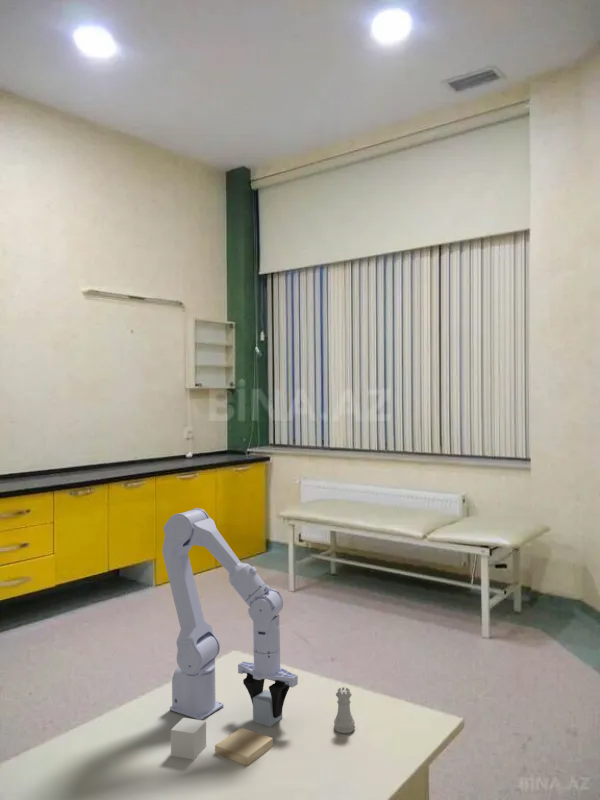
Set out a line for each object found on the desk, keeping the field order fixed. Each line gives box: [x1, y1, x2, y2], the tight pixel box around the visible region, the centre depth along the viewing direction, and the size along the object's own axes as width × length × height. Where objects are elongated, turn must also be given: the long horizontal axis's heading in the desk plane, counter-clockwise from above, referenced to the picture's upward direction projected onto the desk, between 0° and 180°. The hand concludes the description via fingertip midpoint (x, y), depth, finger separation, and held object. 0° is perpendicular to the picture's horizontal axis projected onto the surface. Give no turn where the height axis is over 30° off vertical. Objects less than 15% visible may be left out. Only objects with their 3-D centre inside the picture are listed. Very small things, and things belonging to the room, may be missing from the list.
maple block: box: [214, 727, 274, 766], centre depth 118 cm, size 8×8×2 cm
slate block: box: [252, 689, 283, 728], centre depth 130 cm, size 4×4×5 cm
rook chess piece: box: [333, 686, 356, 735], centre depth 125 cm, size 4×4×8 cm
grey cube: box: [170, 717, 207, 761], centre depth 118 cm, size 5×5×5 cm
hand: (267, 713), depth 130 cm, fingers closed on slate block, 4 cm apart
